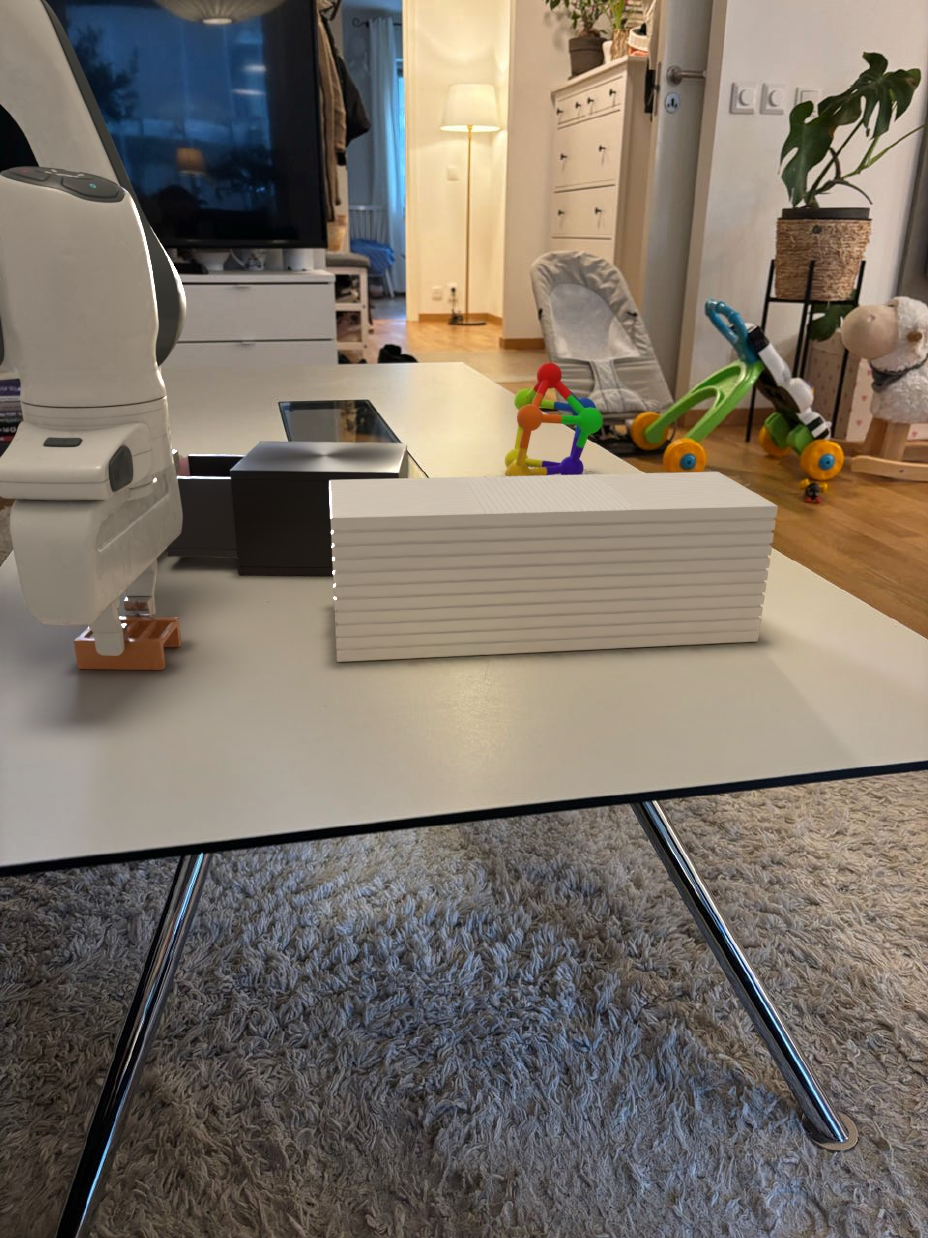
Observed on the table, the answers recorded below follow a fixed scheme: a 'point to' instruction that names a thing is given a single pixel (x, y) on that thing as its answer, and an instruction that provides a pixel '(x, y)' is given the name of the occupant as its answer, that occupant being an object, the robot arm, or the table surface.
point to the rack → (133, 645)
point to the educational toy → (532, 418)
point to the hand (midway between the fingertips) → (128, 635)
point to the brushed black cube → (298, 500)
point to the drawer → (206, 507)
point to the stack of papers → (545, 563)
